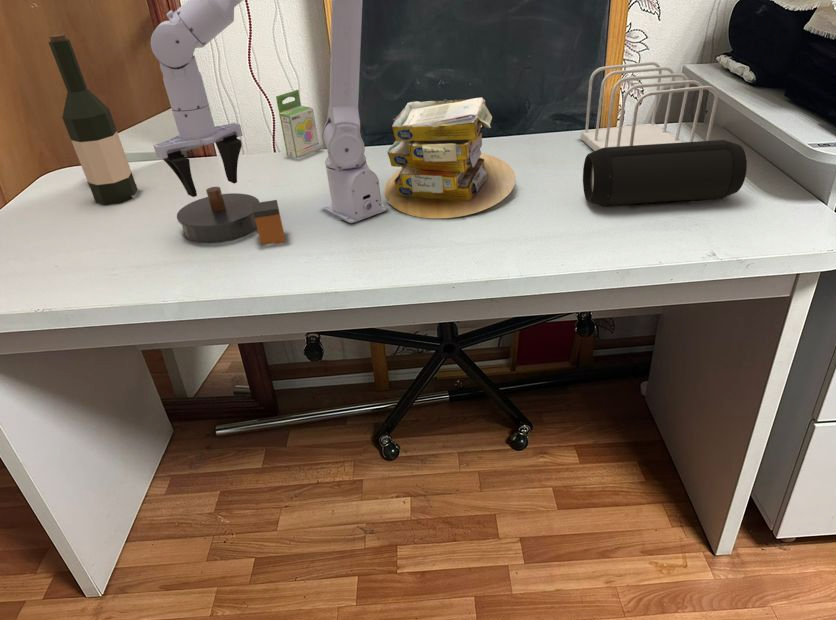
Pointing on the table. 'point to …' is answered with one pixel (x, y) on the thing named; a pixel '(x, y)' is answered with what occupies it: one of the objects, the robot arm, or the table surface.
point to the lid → (217, 210)
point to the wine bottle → (92, 132)
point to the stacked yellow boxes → (444, 161)
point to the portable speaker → (663, 173)
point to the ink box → (297, 126)
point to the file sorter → (643, 132)
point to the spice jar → (268, 222)
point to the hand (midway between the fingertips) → (213, 188)
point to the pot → (221, 232)
